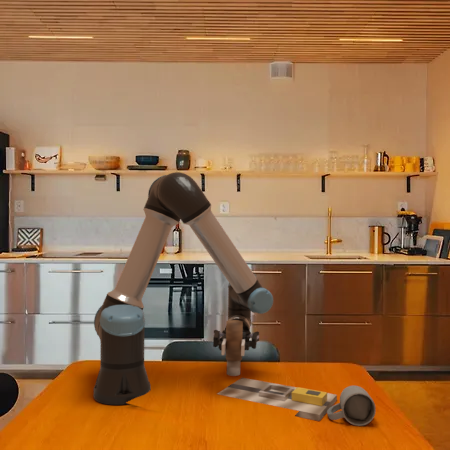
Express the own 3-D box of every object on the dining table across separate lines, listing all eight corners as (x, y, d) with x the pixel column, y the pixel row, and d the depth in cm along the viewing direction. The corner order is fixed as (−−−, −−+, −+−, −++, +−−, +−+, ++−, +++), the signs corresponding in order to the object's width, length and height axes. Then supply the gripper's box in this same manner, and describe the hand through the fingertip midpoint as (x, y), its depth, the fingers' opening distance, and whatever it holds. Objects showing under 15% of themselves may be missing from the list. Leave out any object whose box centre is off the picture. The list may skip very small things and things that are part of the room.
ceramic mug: (368, 412, 119) (368, 381, 119) (376, 426, 111) (375, 393, 111) (325, 412, 120) (324, 381, 120) (329, 425, 112) (329, 393, 112)
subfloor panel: (216, 399, 128) (216, 389, 128) (241, 382, 141) (242, 373, 141) (319, 421, 114) (319, 409, 114) (336, 400, 127) (336, 390, 127)
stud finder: (291, 400, 123) (291, 391, 123) (297, 394, 127) (297, 386, 127) (322, 406, 119) (322, 397, 119) (327, 400, 123) (327, 391, 123)
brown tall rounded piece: (222, 374, 128) (223, 322, 128) (230, 370, 132) (231, 319, 132) (237, 377, 126) (238, 324, 126) (244, 373, 130) (245, 321, 130)
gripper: (265, 343, 146) (266, 366, 123) (208, 341, 148) (198, 363, 124) (266, 318, 146) (267, 337, 123) (209, 316, 148) (199, 334, 124)
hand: (232, 350), depth 124 cm, fingers closed on brown tall rounded piece, 4 cm apart
